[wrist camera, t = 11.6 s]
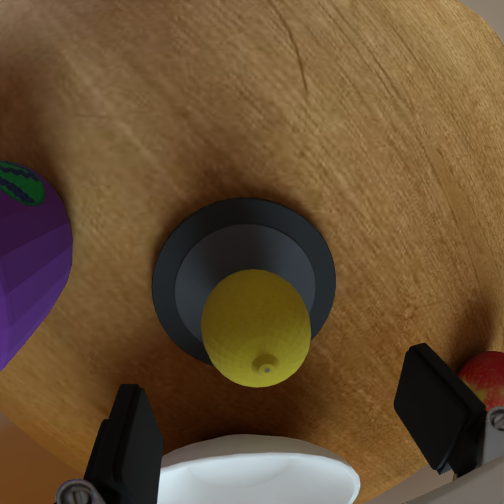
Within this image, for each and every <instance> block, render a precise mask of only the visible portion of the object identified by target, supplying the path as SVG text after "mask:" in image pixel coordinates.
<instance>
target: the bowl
mask: <svg viewBox="0 0 504 504" xmlns="http://www.w3.org/2000/svg"><path fill="white" fill-rule="evenodd" d="M359 489H360V480H359V476H358V474H357V473H356V472H355V471H354V469H353V468H352V467H351V466H350V465H349V463H348V462H346V461H345V460H344V459H343V458H341V457H340V456H338V455H337V454H335V453H333V452H332V451H330V450H328V449H326V448H323V447H320V446H318V445H315V444H312V443H309V442H306V441H303V440H299V439H293V438H287V437H281V436H264V435H252V434H235V435H227V436H222V437H218V438H214V439H211V440H206V441H202V442H197V443H193V444H190V445H187V446H184V447H181V448H178V449H175V450H173V451H171V452H170V453H168V454H166V455H164V456H162V462H161V471H160V480H159V489H158V499H157V504H352V503H353V501H354V500H355V498H356V497H357V495H358V492H359Z"/></svg>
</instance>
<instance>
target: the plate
mask: <svg viewBox="0 0 504 504" xmlns="http://www.w3.org/2000/svg"><path fill="white" fill-rule="evenodd" d="M250 269H257V270H265V271H268V272H271V273H274V274H277V275H279V276H280V277H281V278H283V279H284V280H286V281H287V282H289V283H290V284H291V285H292V286H293V287H294V288H295V290H296V291H297V292H298V293H299V294H300V296H301V297H302V299H303V301H304V304H305V306H306V308H307V311H308V314H309V318H310V327H311V340H312V339H313V338H314V337H315V336H316V334H317V333H318V332H319V330H320V329H321V328H322V326H323V324H324V323H325V321H326V319H327V317H328V315H329V313H330V310H331V308H332V304H333V300H334V296H335V288H336V274H335V267H334V262H333V259H332V255H331V253H330V250H329V248H328V246H327V244H326V242H325V240H324V239H323V237H322V236H321V234H320V233H319V232H318V231H317V229H316V228H315V227H314V226H313V225H312V224H311V223H310V222H309V221H308V220H306V219H305V218H304V217H303V216H301V215H300V214H298V213H297V212H295V211H294V210H292V209H290V208H288V207H286V206H284V205H282V204H279V203H276V202H273V201H270V200H266V199H259V198H243V197H241V198H233V199H227V200H223V201H219V202H215V203H213V204H210V205H208V206H205V207H203V208H201V209H200V210H198V211H196V212H194V213H193V214H191V215H190V216H189V217H187V218H186V219H185V220H183V221H182V222H181V223H180V224H179V225H178V226H177V227H176V228H175V229H174V231H173V232H172V233H171V235H170V236H169V237H168V239H167V240H166V242H165V243H164V245H163V247H162V249H161V251H160V253H159V255H158V258H157V260H156V263H155V267H154V272H153V277H152V296H153V302H154V307H155V311H156V313H157V316H158V318H159V321H160V323H161V324H162V326H163V328H164V330H165V331H166V333H167V334H168V335H169V337H170V338H171V339H172V340H173V341H174V342H175V343H176V344H177V345H178V346H179V347H180V348H181V349H182V350H183V351H185V352H186V353H187V354H189V355H191V356H192V357H194V358H195V359H197V360H199V361H202V362H204V363H206V364H209V365H212V366H214V364H213V363H212V361H211V359H210V357H209V355H208V353H207V351H206V349H205V346H204V343H203V338H202V331H201V320H202V313H203V308H204V305H205V303H206V301H207V299H208V296H209V294H210V293H211V291H212V290H213V289H214V288H215V287H216V286H217V284H218V283H219V282H220V281H222V280H223V279H225V278H226V277H227V276H229V275H231V274H234V273H236V272H239V271H243V270H250ZM311 340H310V341H311Z"/></svg>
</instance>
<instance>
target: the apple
mask: <svg viewBox="0 0 504 504" xmlns="http://www.w3.org/2000/svg"><path fill="white" fill-rule="evenodd" d="M457 376H458V377H459V378H460V379H461V380H462V381H463V382H464V383H465V384H466V385H467V386H468V387H469V388H470V389H471V390H472V391H473V392H474V394H475V395H476V396H477V397H478V398H479V399H480V400H481V401H482V402H483V403H484V404H485V405H486V411H487V412H488V411H489V410H490V409H491V408H493V407H496V406H504V353H502V352H497V351H487V352H483V353H481V354H478V355H475V356H474V357H472V358H471V359H469V360H468V361H467V362H466V363H465V364H463V366H462V367H461V368H460V370H459V371H458V372H457Z"/></svg>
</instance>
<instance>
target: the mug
mask: <svg viewBox="0 0 504 504" xmlns="http://www.w3.org/2000/svg"><path fill="white" fill-rule="evenodd" d="M72 245H73V239H72V233H71V227H70V220H69V218H68V215H67V212H66V210H65V207H64V204H63V202H62V200H61V199H60V197H59V196H58V194H57V192H56V191H55V189H54V188H53V186H52V185H51V184H50V183H49V182H48V181H47V180H46V179H44V178H43V177H42V176H41V175H40V174H39V173H38V172H36V171H34V170H32V169H30V168H28V167H26V166H24V165H21V164H18V163H14V162H9V161H0V371H1V370H2V369H3V368H4V367H5V366H6V365H7V364H8V362H9V361H10V360H11V359H12V358H13V357H14V355H15V354H16V353H17V352H18V351H19V350H20V348H21V347H22V346H23V345H24V344H25V343H26V341H27V340H28V339H29V337H30V336H31V335H32V334H33V332H34V331H35V330H36V329H37V327H38V326H39V325H40V324H41V322H42V321H43V320H44V319H45V317H46V316H47V315H48V313H49V312H50V310H51V309H52V307H53V305H54V304H55V302H56V300H57V298H58V297H59V295H60V293H61V292H62V290H63V288H64V287H65V285H66V283H67V281H68V277H69V273H70V269H71V265H72Z"/></svg>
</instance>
